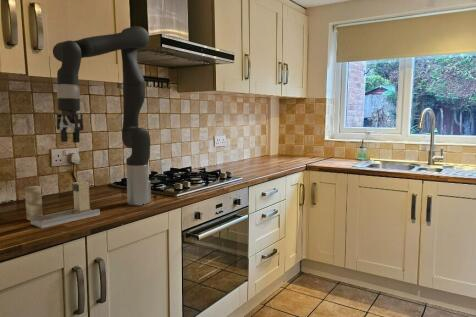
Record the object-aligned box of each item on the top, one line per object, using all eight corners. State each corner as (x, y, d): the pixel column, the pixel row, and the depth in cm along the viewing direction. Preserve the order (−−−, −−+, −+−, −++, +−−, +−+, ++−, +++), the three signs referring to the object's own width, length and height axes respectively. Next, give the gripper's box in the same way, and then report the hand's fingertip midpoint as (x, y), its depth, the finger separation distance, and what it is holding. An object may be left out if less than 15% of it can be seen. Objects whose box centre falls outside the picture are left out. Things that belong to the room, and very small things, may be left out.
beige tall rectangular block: (39, 216, 141) (37, 185, 140) (44, 218, 138) (42, 186, 137) (26, 219, 137) (24, 187, 136) (31, 221, 135) (29, 188, 134)
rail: (88, 211, 148) (87, 179, 147) (100, 214, 143) (98, 181, 142) (30, 224, 131) (28, 187, 129) (41, 228, 126) (39, 190, 125)
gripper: (88, 97, 134) (90, 142, 136) (68, 98, 143) (69, 141, 144) (68, 96, 128) (70, 143, 130) (48, 97, 137) (50, 141, 138)
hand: (70, 142), depth 137 cm, fingers open, 8 cm apart
